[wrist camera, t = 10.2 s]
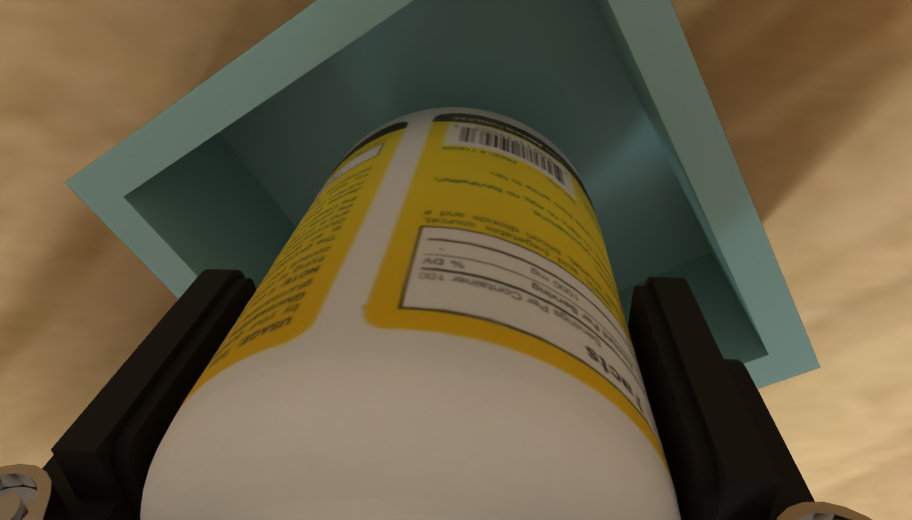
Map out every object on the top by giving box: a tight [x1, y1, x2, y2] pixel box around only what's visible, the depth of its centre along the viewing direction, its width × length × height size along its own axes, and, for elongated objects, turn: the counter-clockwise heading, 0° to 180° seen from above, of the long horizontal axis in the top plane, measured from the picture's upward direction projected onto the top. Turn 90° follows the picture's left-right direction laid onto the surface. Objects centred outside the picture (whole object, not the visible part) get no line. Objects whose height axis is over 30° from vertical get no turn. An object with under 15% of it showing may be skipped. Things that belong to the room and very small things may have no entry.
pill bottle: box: [140, 107, 681, 520], centre depth 9 cm, size 6×6×11 cm
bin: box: [65, 0, 820, 389], centre depth 14 cm, size 11×11×5 cm
